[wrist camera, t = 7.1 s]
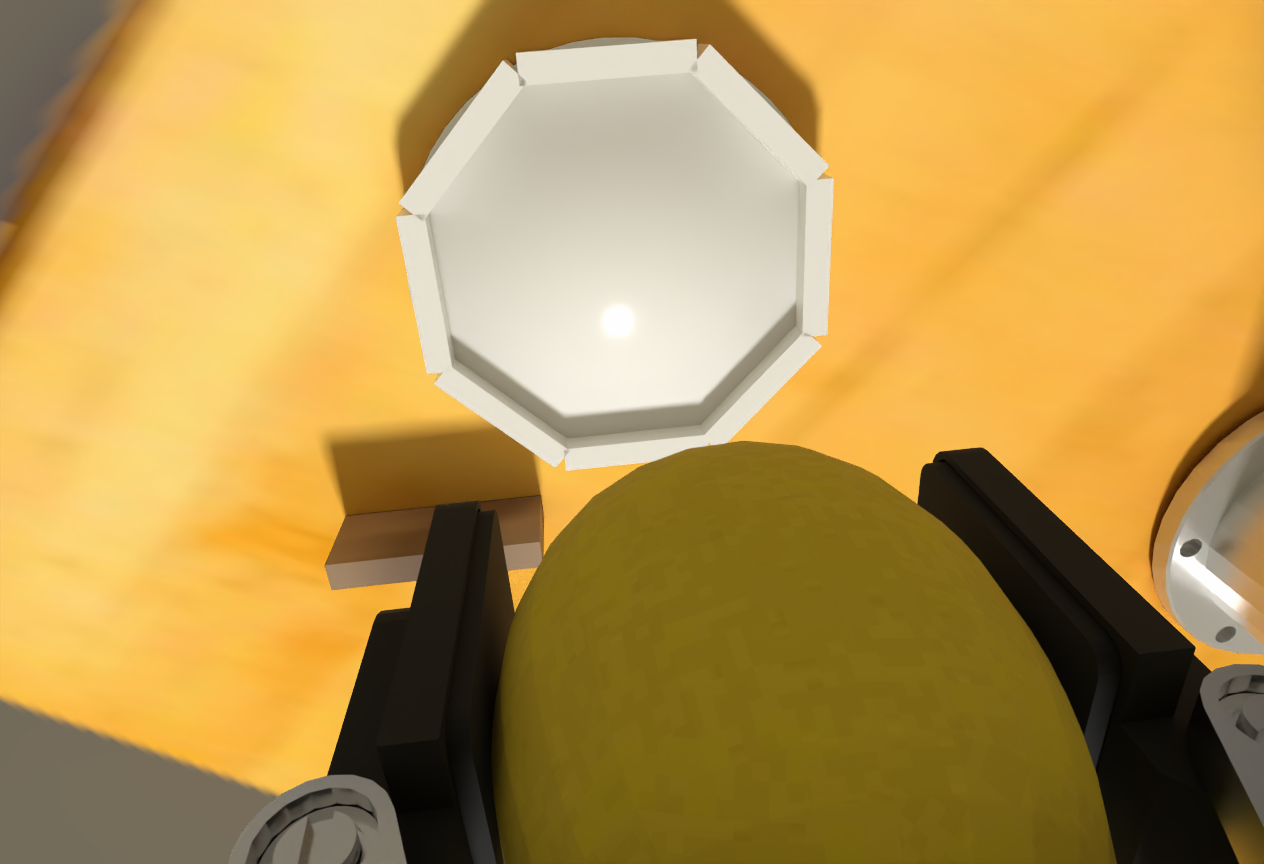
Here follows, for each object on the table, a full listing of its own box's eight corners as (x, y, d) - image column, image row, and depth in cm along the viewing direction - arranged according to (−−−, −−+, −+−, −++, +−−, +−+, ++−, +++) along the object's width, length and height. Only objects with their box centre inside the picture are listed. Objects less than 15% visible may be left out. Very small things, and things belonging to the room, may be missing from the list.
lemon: (427, 494, 11) (220, 1301, 4) (763, 262, 10) (1280, 790, 3) (648, 716, 13) (765, 1484, 6) (939, 545, 12) (1470, 1226, 5)
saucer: (827, 20, 23) (848, 18, 21) (812, 425, 29) (828, 448, 27) (369, 55, 22) (356, 56, 21) (449, 462, 28) (443, 488, 26)
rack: (540, 495, 29) (539, 542, 26) (568, 692, 33) (569, 749, 31) (345, 516, 29) (324, 565, 26) (399, 712, 33) (385, 772, 30)
